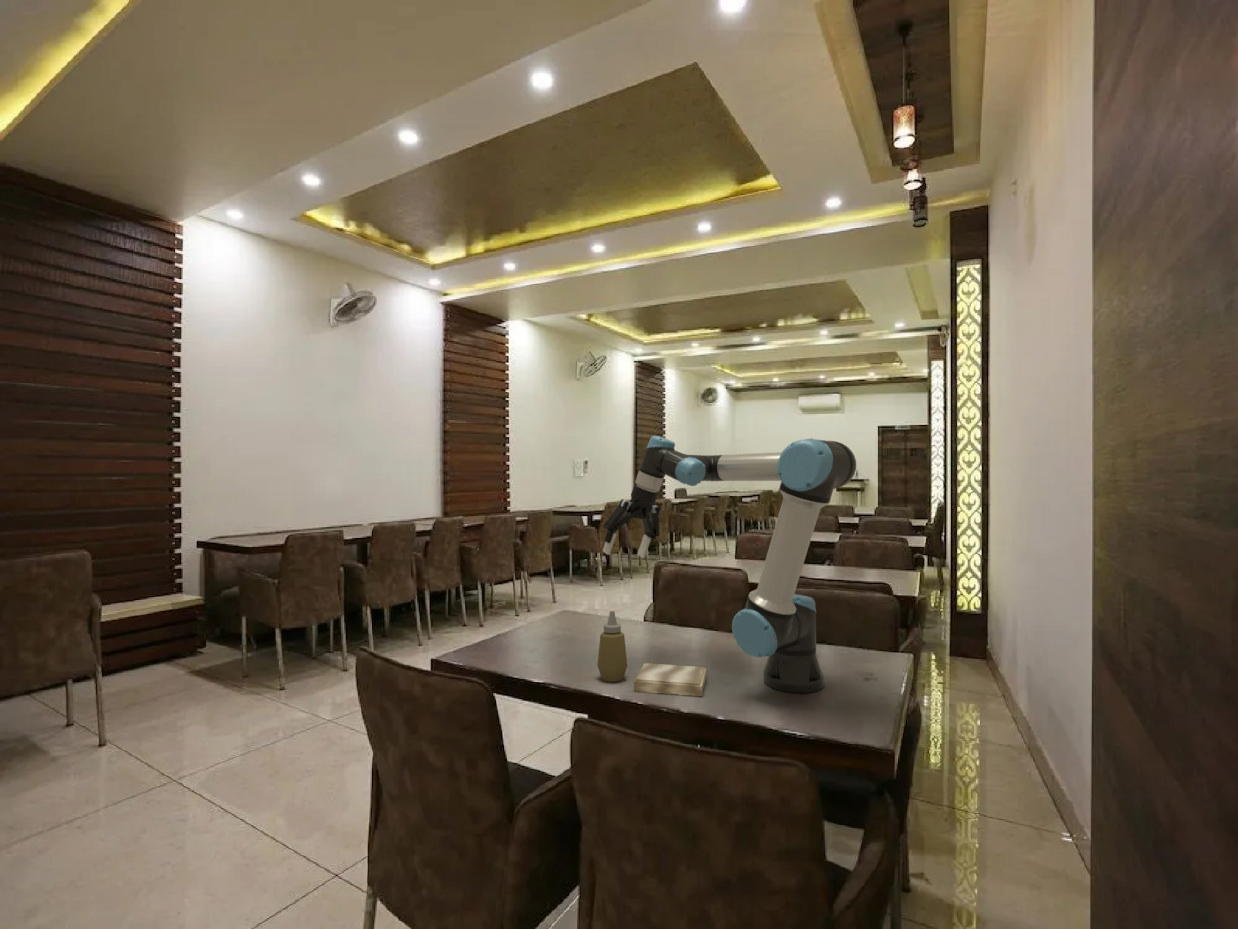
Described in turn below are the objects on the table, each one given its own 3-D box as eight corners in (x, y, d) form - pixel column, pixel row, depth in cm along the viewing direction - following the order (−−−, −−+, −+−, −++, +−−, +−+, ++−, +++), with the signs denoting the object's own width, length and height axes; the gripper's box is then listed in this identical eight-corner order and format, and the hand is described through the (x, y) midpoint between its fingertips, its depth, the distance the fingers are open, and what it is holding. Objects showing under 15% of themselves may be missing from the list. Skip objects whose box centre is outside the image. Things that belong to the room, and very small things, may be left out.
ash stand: (706, 678, 157) (706, 666, 158) (701, 697, 144) (701, 684, 144) (644, 673, 161) (644, 662, 161) (633, 691, 148) (633, 679, 148)
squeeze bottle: (601, 685, 152) (601, 615, 153) (594, 675, 160) (594, 609, 160) (631, 682, 154) (630, 613, 155) (622, 672, 162) (622, 607, 163)
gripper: (668, 489, 182) (647, 552, 185) (606, 477, 167) (583, 546, 170) (684, 498, 177) (661, 562, 179) (621, 486, 161) (597, 556, 164)
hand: (623, 554), depth 175 cm, fingers open, 13 cm apart
